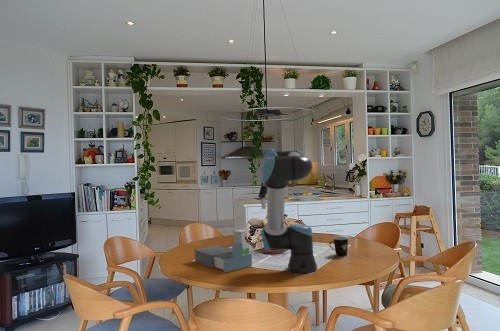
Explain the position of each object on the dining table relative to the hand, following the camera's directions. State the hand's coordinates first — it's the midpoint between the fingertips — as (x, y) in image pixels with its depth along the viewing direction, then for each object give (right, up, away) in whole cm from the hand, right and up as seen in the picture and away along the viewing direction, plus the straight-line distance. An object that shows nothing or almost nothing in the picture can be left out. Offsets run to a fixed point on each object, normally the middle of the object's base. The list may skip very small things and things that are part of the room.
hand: (270, 209), depth 213 cm
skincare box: (-18, -30, +8) cm, 35 cm away
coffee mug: (+41, -27, 0) cm, 49 cm away
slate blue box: (-32, -30, -6) cm, 44 cm away
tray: (-25, -29, -16) cm, 41 cm away
